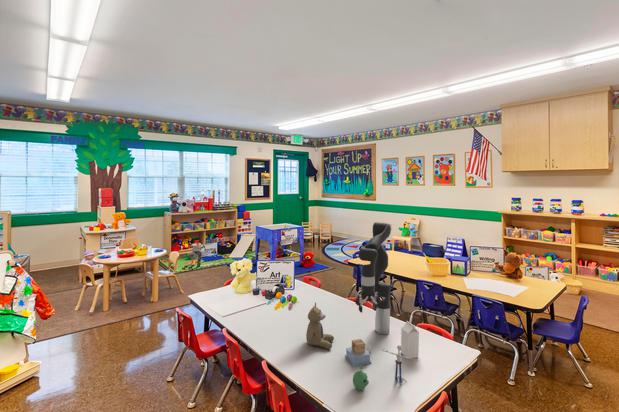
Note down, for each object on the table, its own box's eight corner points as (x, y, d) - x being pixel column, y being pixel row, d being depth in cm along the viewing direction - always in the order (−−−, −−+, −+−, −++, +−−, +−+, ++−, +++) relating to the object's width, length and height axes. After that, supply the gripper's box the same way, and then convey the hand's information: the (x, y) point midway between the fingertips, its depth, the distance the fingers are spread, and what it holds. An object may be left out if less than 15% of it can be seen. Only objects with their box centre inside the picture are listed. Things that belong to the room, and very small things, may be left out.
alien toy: (367, 395, 148) (367, 374, 147) (351, 391, 151) (351, 371, 150) (369, 386, 154) (370, 366, 154) (354, 382, 157) (354, 363, 157)
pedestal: (344, 356, 182) (345, 347, 182) (362, 353, 185) (362, 344, 185) (353, 366, 171) (353, 357, 171) (371, 363, 175) (371, 354, 174)
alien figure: (421, 385, 155) (422, 347, 154) (418, 391, 150) (419, 352, 149) (382, 372, 166) (383, 336, 165) (378, 377, 162) (379, 340, 161)
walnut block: (351, 349, 180) (351, 340, 180) (360, 347, 182) (360, 338, 181) (355, 354, 175) (355, 344, 174) (364, 352, 176) (364, 343, 176)
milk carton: (407, 359, 179) (408, 326, 178) (400, 352, 186) (401, 321, 185) (418, 357, 181) (419, 325, 180) (411, 351, 188) (412, 319, 187)
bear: (330, 354, 184) (331, 312, 183) (303, 351, 188) (304, 310, 186) (334, 337, 205) (335, 300, 203) (310, 335, 208) (311, 297, 206)
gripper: (376, 280, 184) (375, 307, 185) (353, 282, 180) (353, 310, 181) (382, 284, 177) (382, 312, 178) (359, 286, 173) (359, 315, 174)
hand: (367, 311), depth 180 cm, fingers open, 8 cm apart
